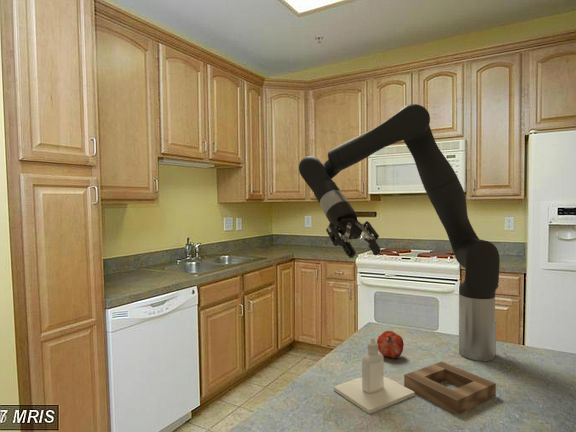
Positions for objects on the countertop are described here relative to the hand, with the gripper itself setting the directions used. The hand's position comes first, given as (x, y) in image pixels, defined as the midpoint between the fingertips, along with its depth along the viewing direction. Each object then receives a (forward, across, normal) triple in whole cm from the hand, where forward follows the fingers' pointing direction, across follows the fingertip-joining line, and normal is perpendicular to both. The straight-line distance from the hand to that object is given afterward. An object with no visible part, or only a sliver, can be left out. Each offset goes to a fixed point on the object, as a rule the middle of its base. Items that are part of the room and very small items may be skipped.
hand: (366, 254), depth 97 cm
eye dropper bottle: (+27, -6, +15) cm, 32 cm away
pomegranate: (+19, +13, +25) cm, 34 cm away
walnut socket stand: (+34, +9, +9) cm, 37 cm away
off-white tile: (+28, -6, +16) cm, 32 cm away
